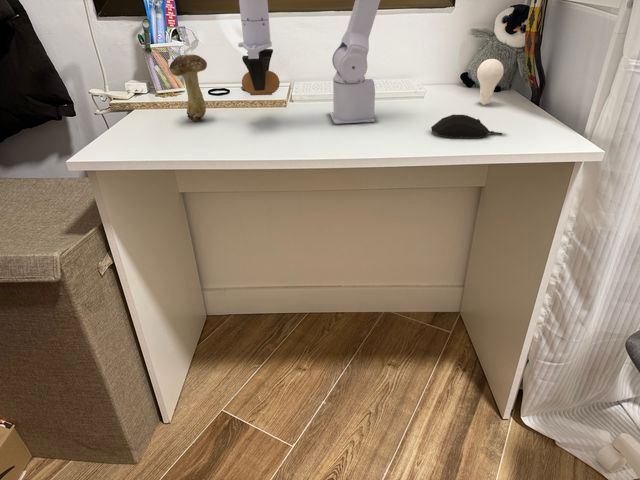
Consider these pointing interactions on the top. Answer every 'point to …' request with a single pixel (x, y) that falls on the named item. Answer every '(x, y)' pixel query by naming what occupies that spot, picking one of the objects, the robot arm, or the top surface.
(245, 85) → the potato
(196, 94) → the mushroom
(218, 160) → the top surface
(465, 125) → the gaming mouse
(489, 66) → the lightbulb
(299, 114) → the top surface
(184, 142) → the top surface
